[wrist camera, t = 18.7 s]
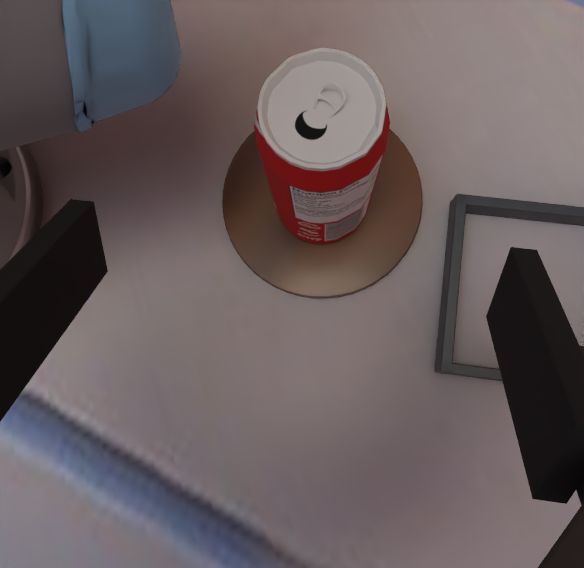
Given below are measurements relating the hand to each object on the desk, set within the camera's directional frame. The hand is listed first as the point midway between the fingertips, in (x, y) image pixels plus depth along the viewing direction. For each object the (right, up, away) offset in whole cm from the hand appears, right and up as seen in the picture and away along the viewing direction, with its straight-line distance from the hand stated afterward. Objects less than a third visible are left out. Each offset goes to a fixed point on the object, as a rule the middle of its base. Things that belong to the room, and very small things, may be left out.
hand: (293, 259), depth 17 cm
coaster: (+2, +4, +15) cm, 16 cm away
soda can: (+2, +4, +15) cm, 15 cm away
